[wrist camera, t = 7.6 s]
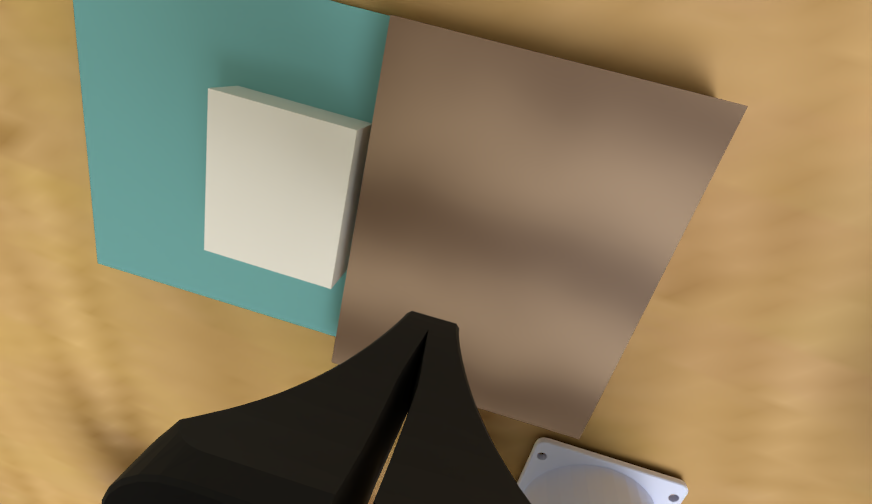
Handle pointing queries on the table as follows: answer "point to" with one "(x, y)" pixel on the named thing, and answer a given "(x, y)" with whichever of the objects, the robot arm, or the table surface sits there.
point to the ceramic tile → (282, 183)
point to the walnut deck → (522, 212)
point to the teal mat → (187, 126)
